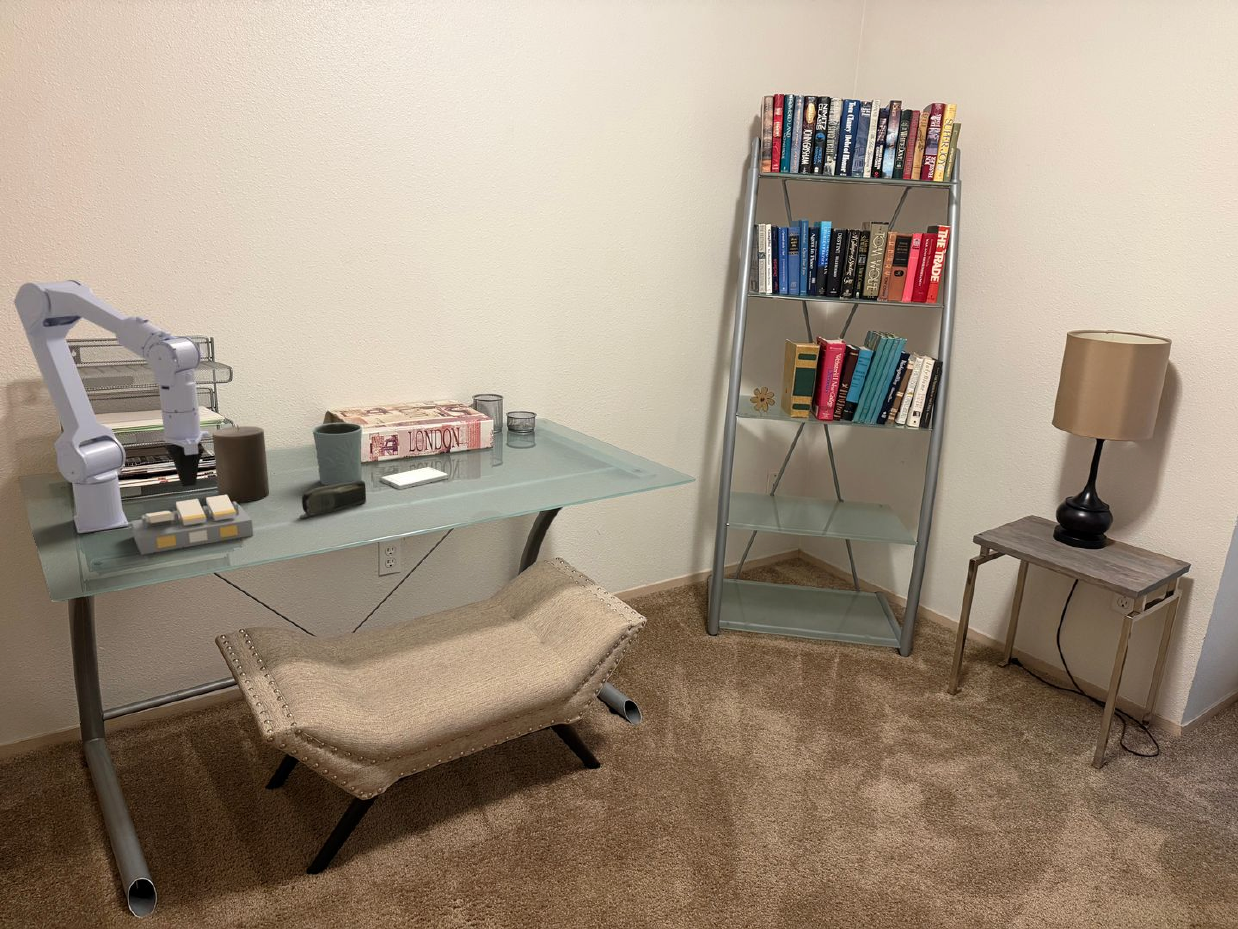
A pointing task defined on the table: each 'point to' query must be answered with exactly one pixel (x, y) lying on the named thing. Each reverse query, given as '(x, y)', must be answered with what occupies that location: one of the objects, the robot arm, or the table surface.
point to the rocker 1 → (159, 516)
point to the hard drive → (413, 478)
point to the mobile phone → (333, 498)
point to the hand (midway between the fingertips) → (188, 485)
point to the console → (189, 531)
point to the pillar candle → (241, 463)
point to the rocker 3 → (221, 507)
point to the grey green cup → (338, 452)
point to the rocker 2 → (190, 512)
